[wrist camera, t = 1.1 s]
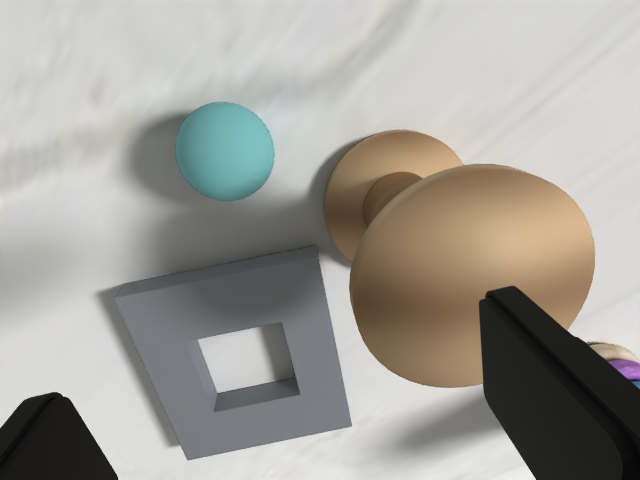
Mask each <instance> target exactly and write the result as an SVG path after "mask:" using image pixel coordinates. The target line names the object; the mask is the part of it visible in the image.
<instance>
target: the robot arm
mask: <svg viewBox="0 0 640 480" xmlns="http://www.w3.org/2000/svg"><path fill="white" fill-rule="evenodd" d="M479 319H480V336H481V353H482V371H483V388H484V394H485V398H486V400H487V403H488V405H489V407H490V408H491V410H492V411H493V413H494V414H495V416H496V418H497V419H498V421H499V422H500V424H501V425H502V427H503V429H504V430H505V432H506V433H507V435H508V436H509V438H510V439H511V441H512V443H513V444H514V446H515V447H516V449H517V450H518V452H519V453H520V455H521V457H522V458H523V460H524V461H525V463H526V464H527V466H528V467H529V469H530V471H531V472H532V474H533V475H534V477H535V478H536V480H640V389H639V388H638V387H637V386H636V385H634V384H633V383H632V382H631V381H630V380H629V379H627V378H626V377H625V376H624V375H623V374H622V373H620V372H619V371H618V370H617V369H616V368H615V367H613V366H612V365H611V364H610V363H609V362H608V361H606V360H605V359H604V358H603V357H602V356H601V355H599V354H598V353H597V352H596V351H595V350H593V349H592V348H591V347H590V346H589V345H588V344H586V343H585V342H584V341H582V340H581V339H579V338H578V337H574V336H573V335H571V334H570V333H569V332H568V331H567V330H566V329H565V328H563V327H562V326H561V325H560V324H559V323H558V322H557V321H555V320H554V319H553V318H552V317H551V316H550V315H548V314H547V313H546V312H545V311H544V310H543V309H542V308H540V307H539V306H538V305H537V304H536V303H535V302H533V301H532V300H531V299H530V298H529V297H528V296H527V295H525V294H524V293H523V292H522V291H521V290H520V289H518V288H517V287H516V286H508V287H503V288H499V289H495V290H490V291H488V292H486V295H485V299H481V300H480V301H479ZM0 480H118V477H117V474H116V473H115V471H114V470H113V468H112V466H111V465H110V463H109V462H108V460H107V458H106V457H105V455H104V453H103V452H102V450H101V449H100V447H99V445H98V444H97V442H96V441H95V439H94V437H93V436H92V434H91V433H90V431H89V429H88V428H87V426H86V424H85V423H84V421H83V420H82V418H81V416H80V415H79V413H78V412H77V410H76V408H75V407H74V405H73V403H72V402H71V400H70V399H69V398H67V397H63V396H62V395H61V394H60V393H58V392H52V393H48V394H44V395H39V396H35V397H31V398H28V399H26V400H24V401H23V402H22V403H21V404H20V405H19V406H18V407H17V409H16V410H15V411H14V412H13V414H12V415H11V416H10V417H9V418H8V420H7V421H6V422H5V423H4V425H3V426H2V427H1V428H0Z"/></svg>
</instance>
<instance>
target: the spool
mask: <svg viewBox="0 0 640 480" xmlns="http://www.w3.org/2000/svg"><path fill="white" fill-rule="evenodd" d="M324 215H325V220H326V224H327V228H328V231H329V233H330V236H331V238H332V240H333V242H334V244H335V245H336V247H337V248H338V250H339V251H340V252H341V253H342V254H343V255H344V256H345V257H346V258H347V259H348V260H349V261H351V262H352V267H351V272H350V285H349V290H350V301H351V305H352V309H353V313H354V316H355V319H356V323H357V326H358V329H359V332H360V334H361V336H362V339H363V341H364V343H365V344H366V346H367V347H368V349H369V351H370V352H371V353H372V354H373V356H374V357H375V358H376V359H377V360H378V361H379V362H380V363H381V364H382V365H384V366H385V367H386V368H387V369H388V370H390V371H392V372H393V373H395V374H396V375H398V376H400V377H402V378H405V379H407V380H409V381H412V382H415V383H418V384H422V385H427V386H433V387H443V388H456V387H467V386H474V385H479V384H483V371H482V353H481V336H480V319H479V301H480V300H481V299H485V295H486V292H488V291H490V290H495V289H499V288H503V287H508V286H516V287H517V288H518V289H520V290H521V291H522V292H523V293H524V294H525V295H527V296H528V297H529V298H530V299H531V300H532V301H533V302H535V303H536V304H537V305H538V306H539V307H540V308H542V309H543V310H544V311H545V312H546V313H547V314H548V315H550V316H551V317H552V318H553V319H554V320H555V321H557V322H558V323H559V324H560V325H561V326H562V327H563V328H565V329H566V330H567V329H568V328H569V327H570V325H571V324H572V323H573V321H574V320H575V318H576V317H577V315H578V313H579V312H580V310H581V308H582V306H583V304H584V302H585V300H586V298H587V295H588V292H589V289H590V286H591V283H592V279H593V273H594V268H595V248H594V239H593V236H592V232H591V228H590V226H589V223H588V221H587V219H586V217H585V215H584V213H583V212H582V210H581V209H580V208H579V206H578V205H577V203H576V202H575V201H574V200H573V199H572V198H571V197H570V196H569V195H568V194H567V193H566V192H564V191H563V190H562V189H560V188H559V187H557V186H556V185H554V184H553V183H550V182H548V181H546V180H544V179H542V178H540V177H537V176H535V175H532V174H529V173H527V172H524V171H521V170H518V169H515V168H511V167H508V166H502V165H495V164H471V165H463V163H462V162H461V160H460V158H459V157H458V156H457V155H456V153H455V152H454V151H453V150H452V149H450V148H449V147H448V146H447V145H446V144H444V143H443V142H441V141H439V140H437V139H435V138H433V137H431V136H428V135H426V134H423V133H419V132H416V131H410V130H392V131H385V132H382V133H378V134H375V135H373V136H370V137H368V138H366V139H364V140H362V141H361V142H359V143H358V144H356V145H355V146H354V147H352V148H351V149H350V150H349V151H348V152H347V153H346V154H345V155H344V156H343V157H342V158H341V159H340V161H339V162H338V163H337V165H336V166H335V168H334V170H333V171H332V173H331V175H330V178H329V180H328V183H327V186H326V190H325V195H324Z"/></svg>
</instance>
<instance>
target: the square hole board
mask: <svg viewBox="0 0 640 480" xmlns="http://www.w3.org/2000/svg"><path fill="white" fill-rule="evenodd" d="M113 299H114V301H115V303H116V305H117V307H118V310H119V312H120V314H121V316H122V318H123V321H124V323H125V325H126V327H127V329H128V332H129V334H130V336H131V338H132V340H133V343H134V345H135V347H136V349H137V351H138V353H139V356H140V358H141V360H142V362H143V364H144V367H145V369H146V371H147V373H148V375H149V378H150V380H151V382H152V384H153V386H154V388H155V391H156V393H157V395H158V397H159V399H160V402H161V404H162V406H163V408H164V410H165V413H166V415H167V417H168V419H169V421H170V423H171V426H172V428H173V430H174V432H175V434H176V437H177V439H178V441H179V443H180V445H181V448H182V450H183V452H184V454H185V456H186V458H187V460H192V459H197V458H202V457H207V456H212V455H216V454H221V453H226V452H231V451H236V450H240V449H245V448H250V447H255V446H260V445H265V444H269V443H274V442H279V441H284V440H289V439H293V438H298V437H303V436H308V435H313V434H318V433H322V432H327V431H332V430H337V429H342V428H347V427H351V426H352V423H351V418H350V413H349V408H348V403H347V398H346V393H345V388H344V383H343V378H342V373H341V368H340V363H339V358H338V353H337V348H336V343H335V338H334V333H333V328H332V323H331V318H330V313H329V309H328V304H327V299H326V294H325V289H324V284H323V279H322V274H321V269H320V264H319V259H318V254H317V249H316V245H315V246H310V247H305V248H300V249H295V250H290V251H285V252H280V253H275V254H270V255H265V256H260V257H255V258H250V259H245V260H241V261H236V262H231V263H226V264H221V265H216V266H211V267H206V268H201V269H196V270H191V271H186V272H181V273H176V274H171V275H166V276H161V277H156V278H151V279H146V280H141V281H136V282H131V283H126V284H124V285H123V286H122V288H121V289H120V290H119V292H118V293H117V294H116V295H115V297H114V298H113ZM280 322H282V326H283V329H284V333H285V337H286V341H287V345H288V348H289V352H290V356H291V360H292V364H293V368H294V371H295V375H296V378H291V379H286V380H281V381H277V382H272V383H267V384H262V385H257V386H252V387H247V388H242V389H238V390H233V391H228V392H223V393H218V394H217V391H216V388H215V386H214V383H213V380H212V378H211V375H210V372H209V370H208V367H207V364H206V362H205V359H204V356H203V354H202V351H201V348H200V346H199V343H198V340H197V339H201V338H206V337H211V336H216V335H220V334H225V333H230V332H235V331H240V330H245V329H250V328H255V327H260V326H265V325H270V324H275V323H280Z"/></svg>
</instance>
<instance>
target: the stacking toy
mask: <svg viewBox="0 0 640 480" xmlns="http://www.w3.org/2000/svg"><path fill="white" fill-rule="evenodd" d="M590 347H591V348H592V349H593V350H595V351H596V352H597V353H598V354H599V355H601V356H602V357H603V358H604V359H605V360H606V361H608V362H609V363H610V364H611V365H612V366H613V367H615V368H616V369H617V370H618V371H619V372H620V373H622V374H623V375H624V376H625V377H626V378H627V379H629V380H630V381H631V382H632V383H633V384H634V385H636V386H637V387H638V388H639V389H640V361H639V360H638V358H637V357H636V356H635V355H634V354H633V353H632V352H631V351H629V350H628V349H626V348H624V347H622V346H619V345H614V344H595V345H590Z"/></svg>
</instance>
